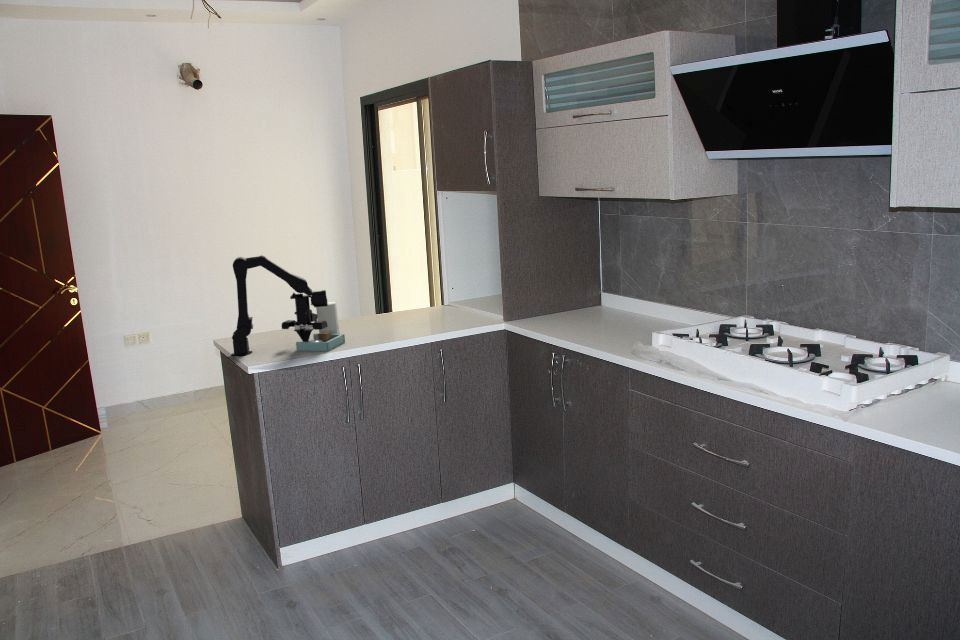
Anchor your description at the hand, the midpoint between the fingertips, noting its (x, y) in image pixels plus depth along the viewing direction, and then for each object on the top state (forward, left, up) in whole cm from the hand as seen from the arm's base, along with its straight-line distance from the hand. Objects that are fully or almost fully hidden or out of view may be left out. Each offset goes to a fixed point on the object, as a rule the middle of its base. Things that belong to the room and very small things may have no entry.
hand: (306, 344), depth 335 cm
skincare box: (+19, -1, -1) cm, 19 cm away
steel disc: (0, -4, -1) cm, 5 cm away
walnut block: (+7, -5, -1) cm, 9 cm away
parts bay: (+3, -5, -1) cm, 6 cm away
